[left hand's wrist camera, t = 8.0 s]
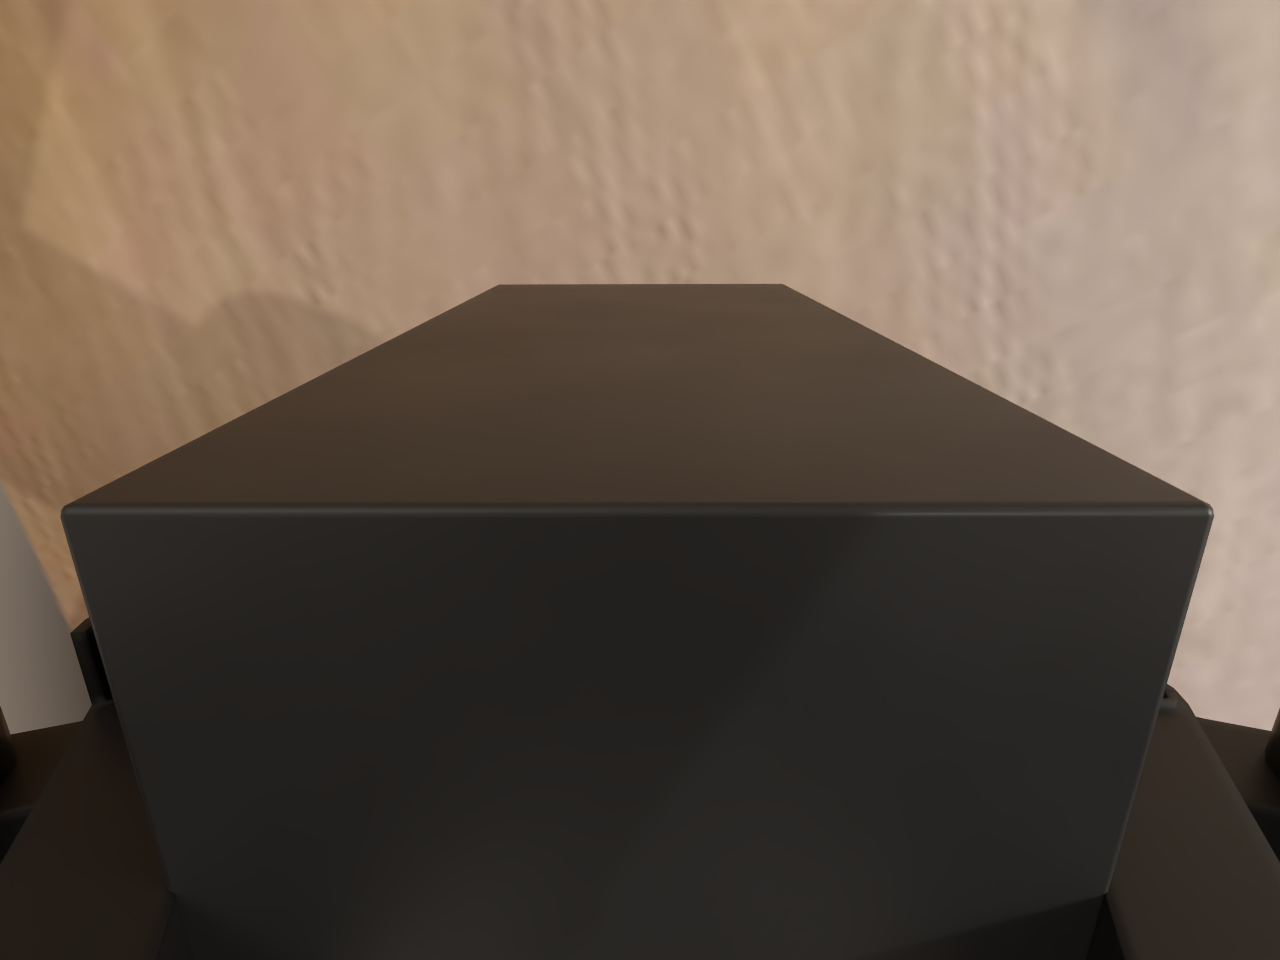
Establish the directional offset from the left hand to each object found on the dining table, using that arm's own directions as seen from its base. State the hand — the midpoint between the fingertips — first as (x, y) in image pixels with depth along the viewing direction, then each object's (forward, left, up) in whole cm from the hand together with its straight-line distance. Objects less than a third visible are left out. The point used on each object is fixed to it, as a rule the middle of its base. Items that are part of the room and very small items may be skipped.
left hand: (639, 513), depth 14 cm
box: (+9, 0, -4) cm, 10 cm away
